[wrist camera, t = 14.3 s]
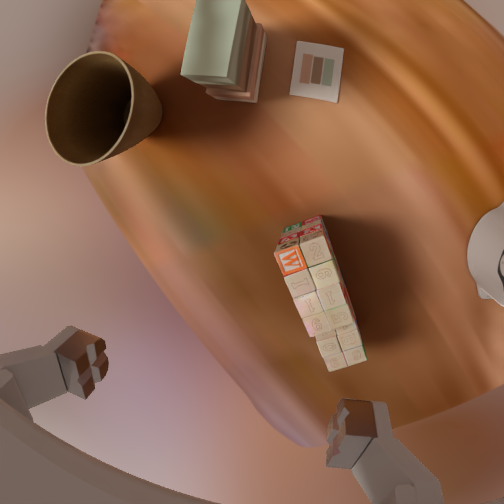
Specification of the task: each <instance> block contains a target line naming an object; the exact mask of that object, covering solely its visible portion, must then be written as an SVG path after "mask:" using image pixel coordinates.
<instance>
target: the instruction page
mask: <svg viewBox="0 0 504 504" xmlns="http://www.w3.org/2000/svg"><path fill="white" fill-rule="evenodd" d="M343 53H344V48H339V47H334V46H329V45H323V44H317V43H310V42H304V41H297V45H296V52H295V59H294V66H293V73H292V80H291V86H290V93H289V95H296V96H302V97H308V98H314V99H320V100H325V101H330V102H335V103H337V100H338V93H339V86H340V78H341V70H342V62H343Z"/></svg>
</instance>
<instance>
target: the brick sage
mask: <svg viewBox="0 0 504 504" xmlns="http://www.w3.org/2000/svg"><path fill="white" fill-rule="evenodd" d="M250 15H251V12H250V10H249V8H248V6H247V4H246V2H245V0H196V4H195V8H194V12H193V16H192V20H191V25H190V29H189V34H188V38H187V43H186V48H185V53H184V58H183V63H182V68H181V74H180V75H182V76H184V77H186V78H188V79H189V80H191V81H193V82H195V83H200V84H218V85H231V86H238V81H239V75H240V69H241V64H242V58H243V53H244V47H245V42H246V36H247V31H248V26H249V21H250Z"/></svg>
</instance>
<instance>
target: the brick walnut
mask: <svg viewBox="0 0 504 504" xmlns="http://www.w3.org/2000/svg"><path fill="white" fill-rule="evenodd" d="M256 30H257V25H256V23H255V21H254V19H253V17H252V15H250V21H249V26H248V31H247V36H246V42H245V47H244V53H243V58H242V64H241V69H240V75H239V81H238V86H231V85H218V84H200V83H198V84H200V85H202V86H203V87H205V88H207V89H209V90H219V91H233V92H244V93H246V92H247V85H248V79H249V72H250V66H251V60H252V54H253V48H254V42H255V36H256Z"/></svg>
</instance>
